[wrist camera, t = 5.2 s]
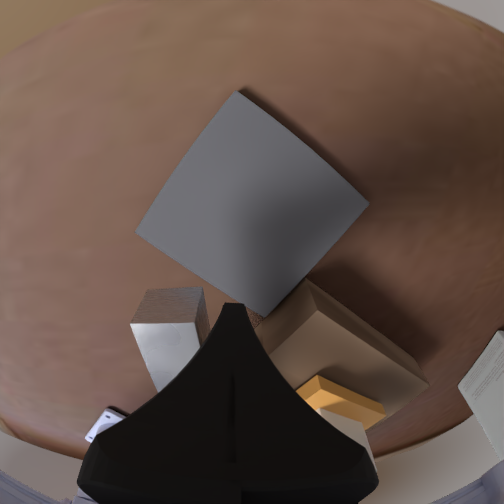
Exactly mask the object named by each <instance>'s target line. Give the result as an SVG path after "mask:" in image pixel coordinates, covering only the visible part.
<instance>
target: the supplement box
mask: <svg viewBox="0 0 504 504" xmlns="http://www.w3.org/2000/svg"><path fill="white" fill-rule="evenodd" d="M458 388H459V390H460V392H461V393H462V395H463V396H464V398H465V400H466V401H467V403H468V405H469V406H470V408H471V410H472V411H473V413H474V415H475V416H476V418H477V420H478V421H479V423H480V425H481V427H482V428H483V430H484V432H485V434H486V435H487V437H488V439H489V441H490V443H491V445H492V446H493V448H494V450H495V452H496V454H497V456H498V458H499V460H500V462H501V461H502V460H504V331H499V330H498V331H497V332H496V334H495V335H494V336H493V338H492V340H491V341H490V342H489V344H488V345H487V347H486V348H485V350H484V351H483V352H482V354H481V355H480V357H479V358H478V359H477V361H476V362H475V363H474V365H473V366H472V367H471V369H470V370H469V371H468V373H467V374H466V375H465V376H464V378H463V379H462V380H461V382H460V383H459V384H458Z"/></svg>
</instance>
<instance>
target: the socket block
mask: <svg viewBox="0 0 504 504" xmlns="http://www.w3.org/2000/svg"><path fill="white" fill-rule="evenodd" d="M254 331H255V333H256V335H257V337H258V339H259V340H260V342H261V344H262V346H263V348H264V349H265V351H266V353H267V354H268V356H269V357H270V359H271V360H272V362H273V363H274V365H275V366H276V368H277V369H278V370H279V372H280V373H281V374H282V376H283V377H284V378H285V379H286V381H287V382H288V383H289V384H290V385H291V387H292V388H293V389H294V390H295V391H296V390H298V389H299V388H300V387H302V386H303V385H304V384H306V383H307V382H308V381H310V380H311V379H312V378H313V377H315V376H316V375H319V376H321V377H323V378H325V379H327V380H329V381H332V382H334V383H336V384H338V385H340V386H342V387H344V388H346V389H349V390H351V391H353V392H355V393H357V394H360V395H362V396H364V397H366V398H369V399H371V400H373V401H375V402H378V403H380V404H382V406H383V408H384V410H385V413H386V415H387V416H386V417H384V418H383V419H381V420H380V421H378V422H377V423H375V424H374V425H372V426H371V427H369V428H368V429H366V430H365V433H367V432H368V431H370V430H371V429H373V428H374V427H376V426H377V425H379V424H380V423H382V422H383V421H385V420H386V419H388V418H389V417H390V416H392V415H393V414H395V413H396V412H397V411H399V410H400V409H401V408H403V407H404V406H405V405H407V404H408V403H409V402H411V401H412V400H413V399H414V398H416V397H417V396H418V395H419V394H421V393H422V392H423V391H424V390H426V389H427V388H428V387H429V386H430V384H429V382H428V381H427V379H426V377H425V376H424V374H423V372H422V371H421V369H420V367H419V366H418V364H417V362H416V361H415V359H414V358H413V357H412V356H410V355H409V354H408V353H406V352H405V351H404V350H403V349H401V348H400V347H399V346H397V345H396V344H395V343H393V342H392V341H391V340H389V339H388V338H387V337H385V336H384V335H382V334H381V333H380V332H378V331H377V330H376V329H374V328H373V327H372V326H370V325H369V324H368V323H366V322H365V321H364V320H362V319H361V318H360V317H358V316H357V315H356V314H354V313H353V312H352V311H350V310H349V309H348V308H346V307H345V306H343V305H342V304H341V303H339V302H338V301H337V300H335V299H334V298H333V297H331V296H330V295H329V294H327V293H326V292H324V291H323V290H322V289H320V288H319V287H318V286H316V285H315V284H314V283H312V282H311V281H309V280H308V279H307V278H305V277H304V278H303V279H302V281H301V282H300V283H299V284H298V285H297V286H296V287H295V288H294V289H293V290H292V291H291V292H290V293H289V294H288V295H287V296H286V297H285V298H284V299H283V300H282V301H281V302H280V303H279V304H278V305H277V306H276V308H275V309H274V310H273V311H272V312H271V313H270V314H269V315H268V316H267V317H266V318H265V319H264V320H263V321H262V322H261V323H260V324H259V325H258V326H257V327H256V328H255V329H254Z"/></svg>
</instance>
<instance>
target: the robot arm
mask: <svg viewBox="0 0 504 504" xmlns="http://www.w3.org/2000/svg"><path fill="white" fill-rule="evenodd" d="M85 439H86V440H87V441H89V442H91V445H90V447H89V449H88V451H87V452H86V454H85V457H84V460H83V463H82V466H81V469H80V472H79V476H78V479H77V484H78V486H79V489H78V492H77V496H74V500H73V503H72V501H71V500H69V499H67V498H65V499H64V500H60V501H57V500H54V499H52V498H50V497H48V496H46V495H44V494H42V493H40V492H38V491H36V490H34V489H32V488H30V487H28V486H27V485H25V484H23V483H21V482H20V481H18V480H16V479H14V478H13V477H11V476H9V475H8V474H6V473H5V472H3V471H1V470H0V504H358V502H360V501H361V500H362V499H364V498H365V497H366V496H368V495H369V494H370V493H372V492H373V491H374V490H375V489H376V487H377V486H378V483H379V480H378V476H377V473H376V469H375V467H374V464H373V462H372V460H371V458H370V456H369V454H368V452H367V450H366V448H365V447H364V446H362V445H361V444H359V443H358V442H356V441H354V440H353V439H351V438H350V437H348V436H347V435H345V434H344V433H342V432H341V431H339V430H338V429H337V428H335V427H334V426H333V425H332V424H330V423H329V422H328V421H327V420H325V419H324V418H323V417H322V416H321V415H320V414H318V413H317V412H316V411H315V410H314V409H313V408H312V407H311V406H310V405H309V404H308V403H307V402H306V401H305V400H304V399H303V398H302V397H301V396H300V395H299V394H298V393H297V392H296V391H295V390H294V389H293V388H292V387H291V385H290V384H289V383H288V382H287V381H286V379H285V378H284V377H283V376H282V374H281V373H280V372H279V370H278V369H277V368H276V366H275V365H274V363H273V362H272V360H271V359H270V357H269V356H268V354H267V353H266V351H265V349H264V348H263V346H262V344H261V342H260V340H259V339H258V337H257V335H256V333H255V331H254V329H253V327H252V324H251V322H250V320H249V317H248V314H247V311H246V307H245V304H242V303H225V304H224V305H223V308H222V311H221V313H220V315H219V317H218V319H217V321H216V323H215V325H214V327H213V328H212V330H211V332H210V333H209V335H208V336H207V338H206V340H205V341H204V342H203V344H202V345H201V347H200V348H199V349H198V351H197V352H196V353H195V355H194V356H193V357H192V359H191V360H190V361H189V362H188V363H187V365H186V366H185V367H184V368H183V369H182V370H181V371H180V372H179V373H178V374H177V376H176V377H175V378H174V379H173V380H171V381H170V382H169V383H168V384H167V385H166V386H165V387H164V388H163V389H162V390H161V391H160V392H159V393H158V394H156V395H155V396H154V397H153V398H152V399H150V400H149V401H148V402H146V403H145V404H144V405H142V406H141V407H140V408H138V409H137V410H136V411H134V412H133V413H132V414H130V415H129V416H127V417H125V416H123V415H121V414H119V413H117V412H115V411H113V410H111V409H105V411H104V412H103V413H102V415H101V416H100V417H99V419H98V420H97V421H96V423H95V424H94V425H93V427H92V428H91V429H90V431H89V432H88V433H87V435H86V437H85ZM430 504H504V460H502V461H501V462H499V463H498V464H496V465H495V466H494V467H492V468H491V469H490V470H489V471H487V472H486V473H485V474H484V475H482V477H481V478H479V479H477V480H476V481H474V482H472V483H470V484H468V485H467V486H465V487H463V488H461V489H459V490H457V491H455V492H453V493H451V494H449V495H447V496H445V497H443V498H441V499H439V500H436V501H434V502H432V503H430Z"/></svg>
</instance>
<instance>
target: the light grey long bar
mask: <svg viewBox="0 0 504 504" xmlns="http://www.w3.org/2000/svg"><path fill="white" fill-rule="evenodd" d="M130 325H131V327H132V330H133V333H134V336H135V338H136V341H137V344H138V346H139V349H140V351H141V354H142V356H143V359H144V361H145V363H146V366H147V368H148V371H149V373H150V375H151V378H152V380H153V382H154V384H155V386H156V389H157V391H158V393H159V392H160V391H161V390H162V389H163V388H164V387H165V386H166V385H167V384H168V383H169V382H170V381H171V380H173V379H174V378H175V377H176V376H177V374H178V373H179V372H180V371H181V370H182V369H183V368H184V367H185V366H186V365H187V363H188V362H189V361H190V360H191V359H192V357H193V356H194V355H195V353H196V352H197V351H198V349H199V348H200V347H201V345H202V344H203V342H204V341H205V340H206V338H207V336H208V335H209V333H210V332H211V330H210V325H209V320H208V314H207V309H206V304H205V298H204V292H203V287H187V288H169V289H149V290H147V292H146V294H145V296H144V297H143V299H142V301H141V303H140V305H139V307H138V309H137V311H136V313H135V315H134V317H133V319H132V321H131V323H130Z"/></svg>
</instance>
